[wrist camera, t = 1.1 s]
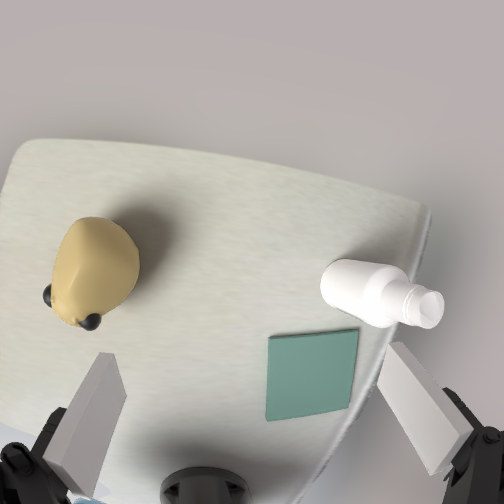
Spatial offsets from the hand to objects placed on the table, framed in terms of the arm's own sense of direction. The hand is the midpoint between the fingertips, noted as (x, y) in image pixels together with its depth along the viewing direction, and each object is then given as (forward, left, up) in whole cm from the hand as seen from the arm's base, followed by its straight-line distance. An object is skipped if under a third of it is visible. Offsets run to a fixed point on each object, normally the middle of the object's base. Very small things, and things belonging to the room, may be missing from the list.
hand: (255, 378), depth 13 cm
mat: (-13, -13, -24) cm, 30 cm away
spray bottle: (+1, -17, -24) cm, 30 cm away
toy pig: (+3, +14, -24) cm, 28 cm away
